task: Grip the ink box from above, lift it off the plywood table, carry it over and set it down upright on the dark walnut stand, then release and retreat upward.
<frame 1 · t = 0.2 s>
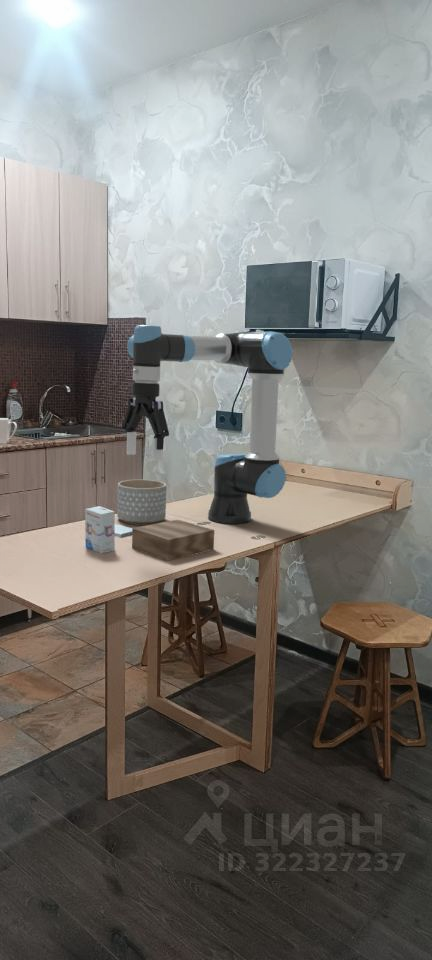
hand: (144, 457, 198), 27 cm above the table, tool pointing down, fingers open, 13 cm apart
planter: (141, 520, 240), on the table
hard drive: (116, 533, 224), on the table
ink box: (99, 549, 204), on the table
walnut stand: (172, 548, 207), on the table
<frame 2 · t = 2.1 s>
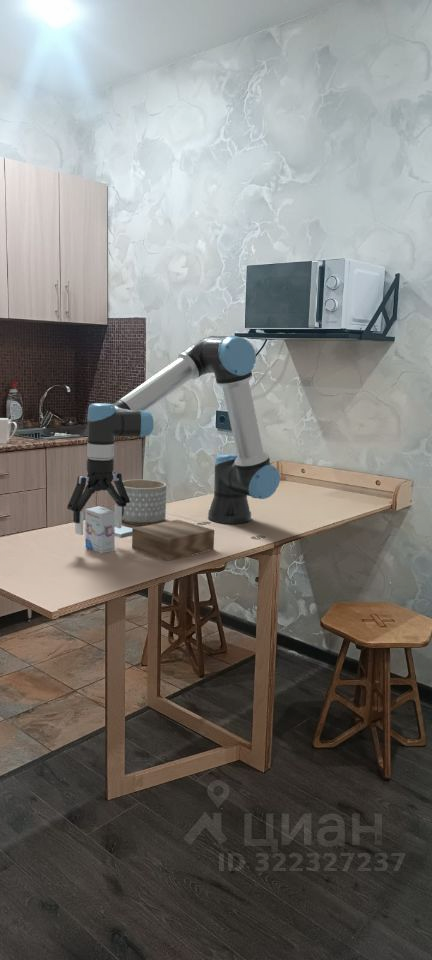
hand: (98, 530, 203), 5 cm above the table, tool pointing down, fingers open, 13 cm apart
nothing on the table moved.
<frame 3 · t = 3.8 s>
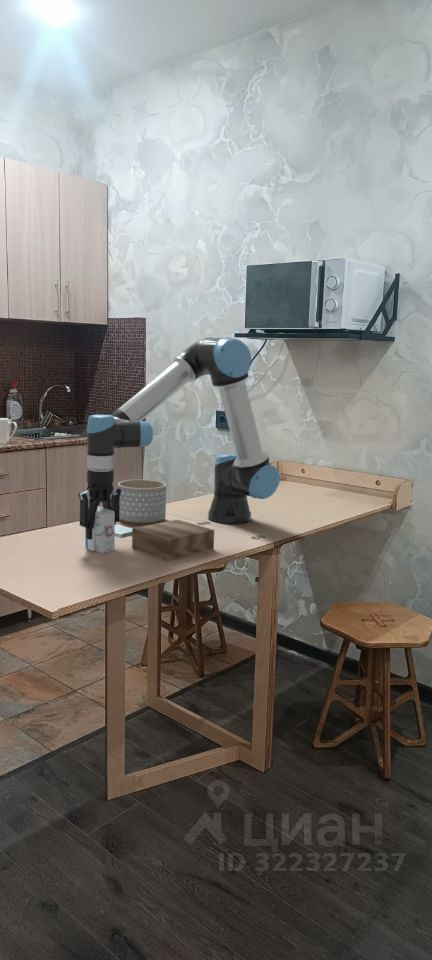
hand: (99, 547, 204), 0 cm above the table, tool pointing down, fingers closed on ink box, 5 cm apart
ink box: (99, 549, 204), on the table, touching gripper
everything else where it was.
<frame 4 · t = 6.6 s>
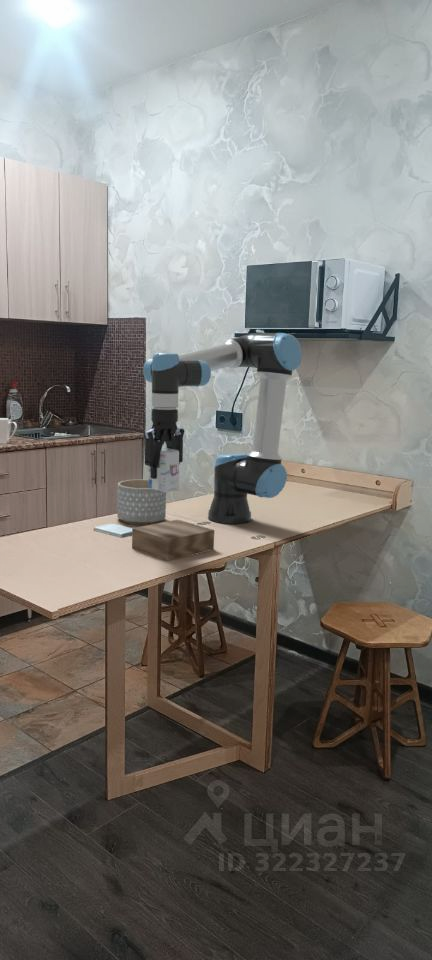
hand: (163, 488, 204), 18 cm above the table, tool pointing down, fingers closed on ink box, 5 cm apart
ink box: (163, 489, 204), point 18 cm above the table, touching gripper
everything else where it was.
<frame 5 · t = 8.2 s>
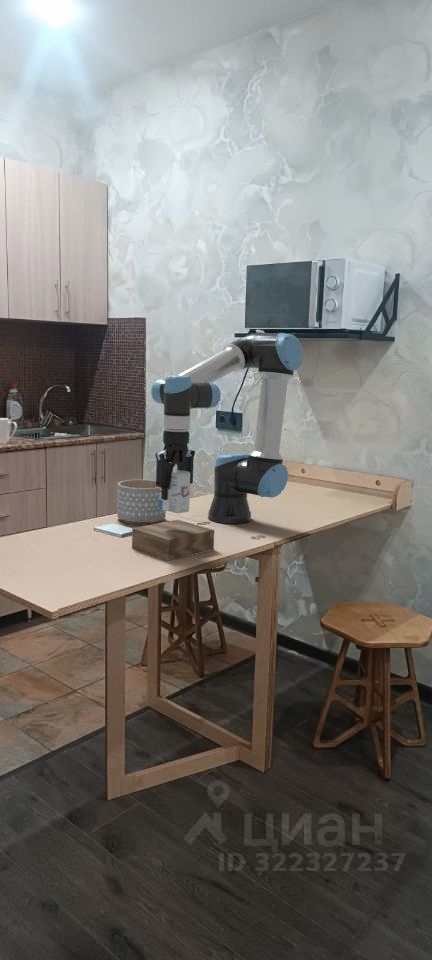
hand: (173, 509, 205), 12 cm above the table, tool pointing down, fingers closed on ink box, 5 cm apart
ink box: (173, 510, 205), point 12 cm above the table, touching gripper
everything else where it was.
when the fingers open (8 cm above the table, at t = 9.7 s): ink box drops 1 cm, resting on walnut stand.
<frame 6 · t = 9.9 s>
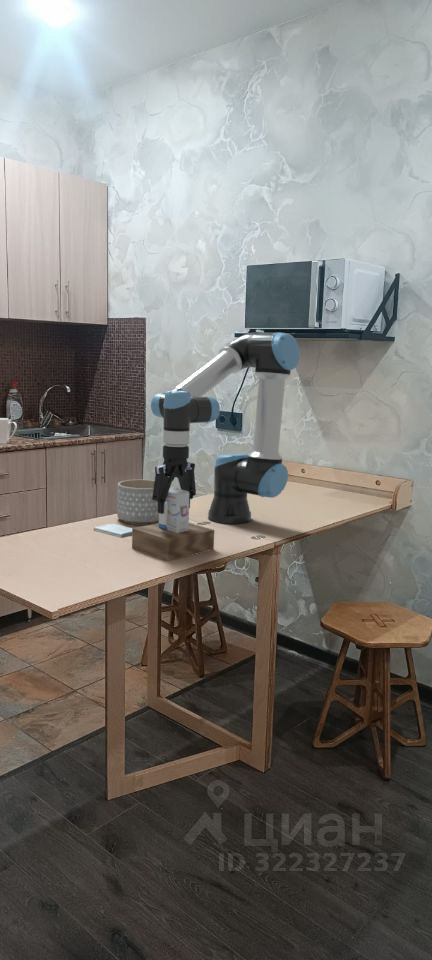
hand: (173, 521, 206), 8 cm above the table, tool pointing down, fingers open, 8 cm apart
ink box: (173, 529, 206), point 6 cm above the table, touching walnut stand
everything else where it was.
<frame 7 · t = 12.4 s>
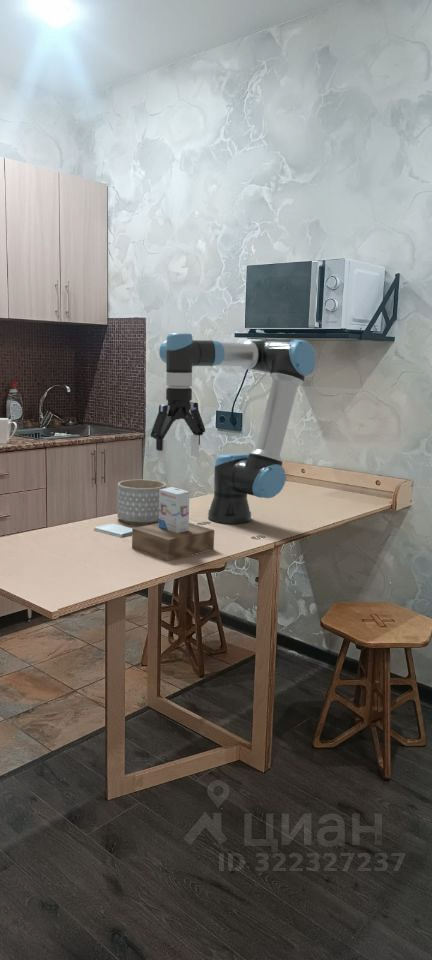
hand: (178, 458, 209), 26 cm above the table, tool pointing down, fingers open, 13 cm apart
nothing on the table moved.
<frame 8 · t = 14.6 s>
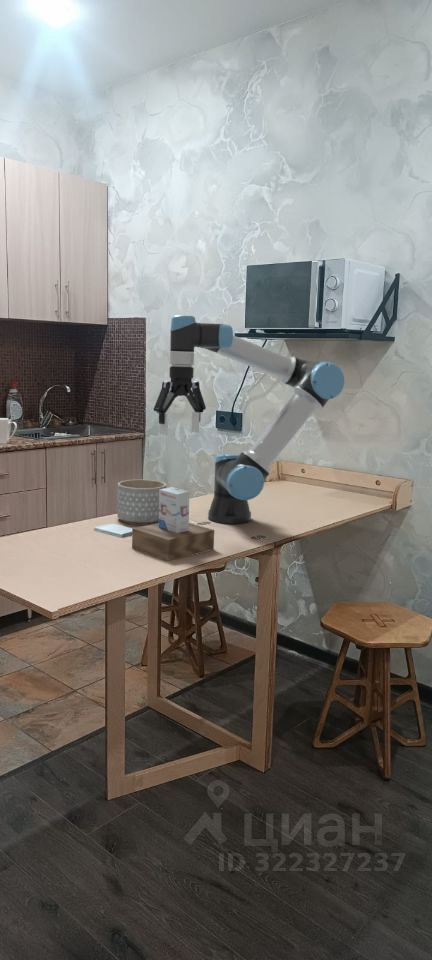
hand: (179, 433, 224), 32 cm above the table, tool pointing down, fingers open, 13 cm apart
nothing on the table moved.
at the end: ink box inside the target area on the walnut stand (0.2 cm from its centre), point 5.8 cm above the walnut stand's base; ink box tilted 0°; the gripper is holding nothing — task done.
